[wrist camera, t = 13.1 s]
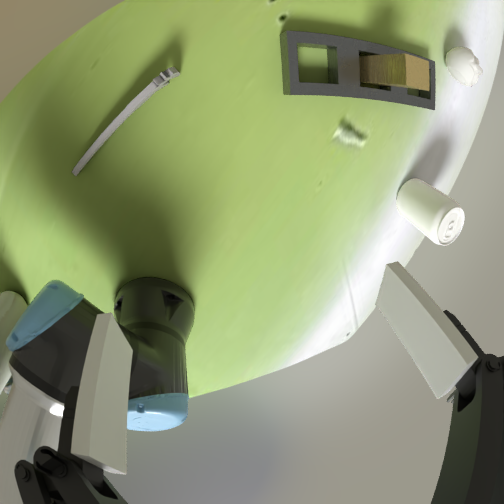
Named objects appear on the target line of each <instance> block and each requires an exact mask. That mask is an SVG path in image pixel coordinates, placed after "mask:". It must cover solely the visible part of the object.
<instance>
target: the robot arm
mask: <svg viewBox="0 0 504 504" xmlns="http://www.w3.org/2000/svg"><path fill="white" fill-rule="evenodd" d="M375 305H376V306H377V307H378V309H379V310H380V312H381V313H382V314H383V316H384V317H385V319H386V320H387V322H388V323H389V324H390V326H391V327H392V329H393V330H394V332H395V333H396V334H397V336H398V338H399V339H400V341H401V342H402V344H403V345H404V347H405V348H406V350H407V351H408V353H409V354H410V356H411V357H412V359H413V361H414V362H415V364H416V365H417V367H418V368H419V370H420V372H421V373H422V375H423V376H424V378H425V380H426V381H427V383H428V385H429V386H430V388H431V390H432V391H433V393H434V395H435V396H436V398H437V399H439V398H441V397H442V396H444V395H445V394H447V393H448V392H449V391H450V390H451V389H452V388H453V387H454V386H456V388H457V389H456V390H455V391H454V392H453V393H452V394H451V395H450V396H449V398H448V399H447V402H449V401H450V400H451V399H452V398H453V397H454V399H453V400H452V402H451V403H453V411H452V419H451V425H450V431H449V437H448V443H447V447H446V452H445V456H444V461H443V465H442V469H441V472H440V476H439V480H438V483H437V486H436V490H435V493H434V496H433V499H432V502H431V504H504V356H502V357H496V356H495V355H493V354H487V355H486V354H484V352H483V351H482V350H481V348H479V346H478V344H477V343H476V342H475V341H474V339H473V338H472V337H471V335H470V334H469V333H468V332H467V331H466V329H465V328H464V327H463V325H461V323H460V322H459V320H458V319H457V318H456V317H455V316H454V315H453V314H451V313H450V312H449V311H447V310H445V311H442V310H441V309H440V307H439V306H438V305H437V304H436V303H435V302H434V300H433V299H432V298H431V297H430V296H429V295H428V294H427V292H426V291H425V290H424V289H423V288H422V287H421V286H420V285H419V284H418V282H417V281H416V280H415V279H414V278H413V277H412V276H411V275H410V274H409V273H408V272H407V271H406V269H405V268H404V267H403V266H402V265H401V264H400V263H399V262H394V263H390V264H386V268H385V272H384V276H383V280H382V283H381V287H380V290H379V294H378V297H377V300H376V304H375ZM114 317H115V318H114ZM193 324H194V305H193V302H192V300H191V298H190V296H189V295H188V294H187V293H186V292H185V291H184V290H183V289H182V288H181V287H179V286H178V285H176V284H174V283H172V282H170V281H167V280H164V279H159V278H140V279H136V280H133V281H130V282H129V283H127V284H125V285H124V286H123V287H122V288H121V289H120V290H119V292H118V294H117V297H116V300H115V304H114V316H113V314H112V313H104V312H102V311H101V310H100V309H98V308H97V307H96V306H94V305H93V304H92V303H90V302H89V301H88V300H86V299H85V298H84V295H83V294H79V293H77V292H76V291H75V290H73V289H72V288H70V287H69V286H68V285H66V284H65V283H64V282H62V281H59V280H52V281H50V282H48V283H47V284H46V285H45V286H44V287H43V288H42V289H41V291H40V292H39V293H38V294H37V296H36V297H35V298H34V299H33V301H32V302H31V303H30V305H29V306H28V307H27V309H26V310H25V311H24V313H23V314H22V316H21V317H20V318H19V320H18V321H17V323H16V325H15V326H14V328H13V329H12V331H11V333H10V334H9V336H8V337H7V339H6V346H7V347H8V349H9V350H10V351H13V353H12V355H11V357H10V360H9V362H8V365H9V368H10V371H11V374H12V377H13V384H12V386H11V389H10V392H9V395H8V398H7V401H6V404H5V407H4V410H3V414H2V417H1V421H0V504H128V503H127V502H126V501H125V500H124V499H123V498H122V496H121V495H120V494H119V493H118V492H117V490H116V489H115V488H114V487H113V485H112V484H111V483H110V482H109V480H108V479H107V478H106V477H105V476H104V475H103V470H105V471H107V472H110V473H116V474H127V458H126V457H127V452H126V451H127V450H126V449H127V448H126V446H127V440H126V438H127V429H130V430H138V431H160V430H166V429H170V428H174V427H176V426H178V425H180V424H182V423H183V422H184V421H185V420H186V418H187V415H188V399H189V396H188V385H187V371H186V354H185V344H186V342H187V339H188V337H189V334H190V332H191V329H192V327H193Z"/></svg>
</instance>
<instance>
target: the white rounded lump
mask: <svg viewBox="0 0 504 504" xmlns="http://www.w3.org/2000/svg"><path fill="white" fill-rule="evenodd" d="M445 61H446V67H447V70H448V72H449V73H450V75H451V76H452V77H453V78H454V79H455V80H456V81H457V82H459V83H460V84H462V85H465V86H470V87H472V85H473V84H476V83H477V81H478V78H479V75H482V69H481V67H480V66H479V61H478V59H477V58H476V57H475V56H474V55H473V52H472V51H471V50H470V49H468V48H464V47H455V48H453V49H451V50H450V51H449V52H447V54H446V60H445Z"/></svg>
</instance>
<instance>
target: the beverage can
mask: <svg viewBox="0 0 504 504" xmlns="http://www.w3.org/2000/svg"><path fill="white" fill-rule="evenodd" d="M396 206H397V210H398V212H399V214H400V215H401V216H402V217H404V218H405V219H406V220H408V221H409V222H410V223H411V224H412V225H414V226H415V227H416V228H417V229H419V230H420V231H421V232H422V233H423V234H425V235H426V236H427V237H428V238H429V239H430V240H432V241H433V242H434V243H436V244H440V245H442V246H446V245H449V244H451V243H452V242H453V241H454V240H455V239H456V238H457V237H458V235H459V234H460V232H461V230H462V227H463V224H464V219H465V215H464V211H463V209H462V208H461V207H460V205H459V204H458V202H456V201H455V200H453V199H452V198H450V197H449V196H447V195H445V194H444V193H442V192H441V191H439V190H437V189H436V188H434V187H432V186H431V185H429V184H427V183H426V182H424V181H422V180H420V179H418V178H414V179H410V180H408V181H407V182H406V183H405V184H404V185H403V186H402V187H401V189H400V191H399V193H398V196H397V200H396Z"/></svg>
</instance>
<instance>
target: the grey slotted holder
mask: <svg viewBox="0 0 504 504" xmlns="http://www.w3.org/2000/svg"><path fill="white" fill-rule="evenodd" d="M280 45H281V59H282V75H283V92H284V95H325V96H342V97H354V98H364V99H373V100H381V101H388V102H395V103H401V104H407V105H412V106H417V107H422V108H427V109H431V110H435V61H432V60H429V59H427V58H424V57H421V56H418V55H415V54H412V53H409V52H406V51H402V50H399V49H396V48H392V47H388V46H385V45H381V44H376V43H372V42H368V41H363V40H358V39H353V38H347V37H342V36H335V35H328V34H320V33H311V32H300V31H285V32H283V33H282V34H280ZM297 46H298V47H312V48H323V49H327V55H328V74H329V84H325V83H303V82H299V72H298V56H297ZM359 54H364V55H369V56H371V55H384V54H409V55H412V56H415V57H418V58H421V59H424V60H427V61H429V91H426V90H419V97H417V96H413V95H408V94H407V88H404V87H396V86H385V85H380V89H374V88H367V87H360V67H359Z"/></svg>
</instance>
